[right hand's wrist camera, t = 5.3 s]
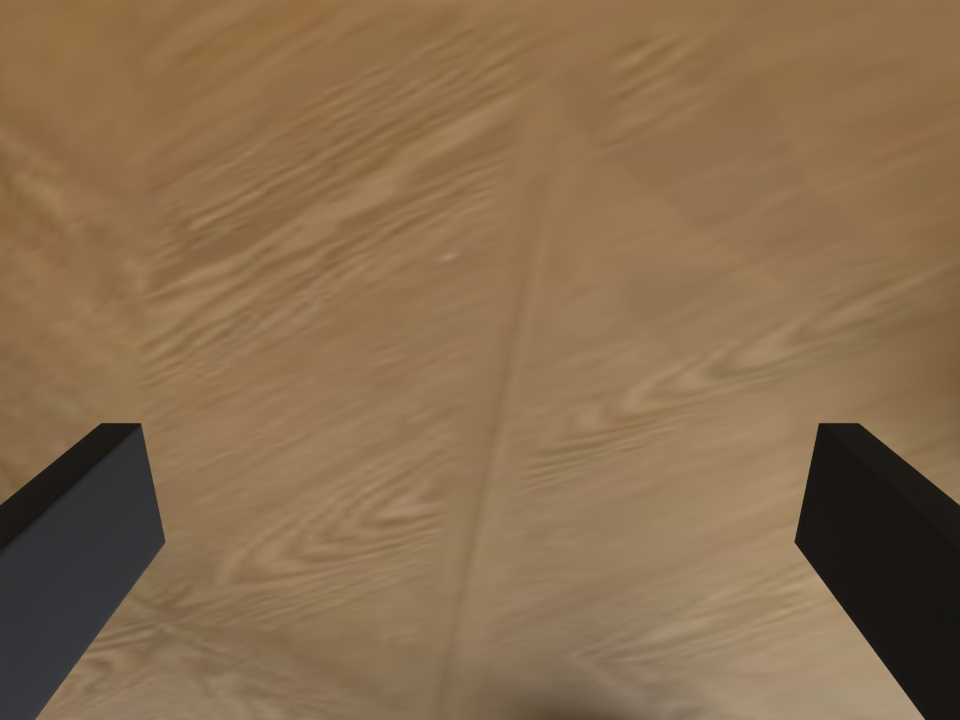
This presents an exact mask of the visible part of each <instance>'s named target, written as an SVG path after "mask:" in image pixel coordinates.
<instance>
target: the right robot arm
mask: <svg viewBox="0 0 960 720" xmlns="http://www.w3.org/2000/svg"><path fill="white" fill-rule="evenodd" d="M164 544H165V538H164V533H163V528H162V523H161V518H160V513H159V509H158V504H157V499H156V494H155V489H154V484H153V480H152V475H151V470H150V465H149V460H148V455H147V451H146V446H145V441H144V436H143V431H142V426H141V423H101V424H100V425H99V426H97V427H96V428H95V429H94V430H92V431H91V432H90V433H89V434H88V435H86V436H85V437H84V438H83V439H81V440H80V441H79V442H78V443H76V444H75V445H74V446H73V447H72V448H70V449H69V450H68V451H67V452H65V453H64V454H63V455H62V456H60V457H59V458H58V459H57V460H56V461H54V462H53V463H52V464H51V465H49V466H48V467H47V468H46V469H44V470H43V471H42V472H41V473H40V474H38V475H37V476H36V477H35V478H33V479H32V480H31V481H30V482H29V483H27V484H26V485H25V486H24V487H22V488H21V489H20V490H19V491H17V492H16V493H15V494H14V495H13V496H11V497H10V498H9V499H8V500H6V501H5V502H4V503H3V504H1V505H0V720H35V719H36V717H37V716H38V715H39V713H40V712H41V711H42V709H43V708H44V707H45V705H46V704H47V702H48V701H49V700H50V698H51V697H52V696H53V694H54V693H55V692H56V690H57V689H58V688H59V686H60V685H61V683H62V682H63V681H64V679H65V678H66V677H67V675H68V674H69V673H70V671H71V670H72V669H73V667H74V666H75V664H76V663H77V662H78V660H79V659H80V658H81V656H82V655H83V654H84V652H85V651H86V649H87V648H88V647H89V645H90V644H91V643H92V641H93V640H94V639H95V637H96V636H97V635H98V633H99V632H100V630H101V629H102V628H103V626H104V625H105V624H106V622H107V621H108V620H109V618H110V617H111V616H112V614H113V613H114V611H115V610H116V609H117V607H118V606H119V605H120V603H121V602H122V601H123V599H124V598H125V597H126V595H127V594H128V592H129V591H130V590H131V588H132V587H133V586H134V584H135V583H136V582H137V580H138V579H139V578H140V576H141V575H142V573H143V572H144V571H145V569H146V568H147V567H148V565H149V564H150V563H151V561H152V560H153V559H154V557H155V556H156V554H157V553H158V552H159V550H160V549H161V548H162V546H163V545H164ZM795 544H796V545H797V546H798V548H799V549H800V550H801V552H802V553H803V554H804V556H805V557H806V559H807V560H808V561H809V563H810V564H811V565H812V567H813V568H814V569H815V571H816V572H817V573H818V575H819V576H820V578H821V579H822V580H823V582H824V583H825V584H826V586H827V587H828V588H829V590H830V591H831V592H832V594H833V595H834V597H835V598H836V599H837V601H838V602H839V603H840V605H841V606H842V607H843V609H844V610H845V611H846V613H847V614H848V616H849V617H850V618H851V620H852V621H853V622H854V624H855V625H856V626H857V628H858V629H859V630H860V632H861V633H862V635H863V636H864V637H865V639H866V640H867V641H868V643H869V644H870V645H871V647H872V648H873V649H874V651H875V652H876V654H877V655H878V656H879V658H880V659H881V660H882V662H883V663H884V664H885V666H886V667H887V669H888V670H889V671H890V673H891V674H892V675H893V677H894V678H895V679H896V681H897V682H898V683H899V685H900V686H901V688H902V689H903V690H904V692H905V693H906V694H907V696H908V697H909V698H910V700H911V701H912V702H913V704H914V705H915V707H916V708H917V709H918V711H919V712H920V713H921V715H922V716H923V717H924V719H925V720H960V505H959V504H957V503H956V502H955V501H954V500H952V499H951V498H950V497H949V496H947V495H946V494H945V493H944V492H943V491H941V490H940V489H939V488H938V487H936V486H935V485H934V484H933V483H931V482H930V481H929V480H928V479H927V478H925V477H924V476H923V475H922V474H920V473H919V472H918V471H917V470H916V469H914V468H913V467H912V466H911V465H909V464H908V463H907V462H906V461H904V460H903V459H902V458H901V457H900V456H898V455H897V454H896V453H895V452H893V451H892V450H891V449H890V448H888V447H887V446H886V445H885V444H884V443H882V442H881V441H880V440H879V439H877V438H876V437H875V436H874V435H872V434H871V433H870V432H869V431H868V430H866V429H865V428H864V427H863V426H861V425H860V424H859V423H819V426H818V431H817V436H816V441H815V446H814V451H813V455H812V460H811V465H810V470H809V475H808V480H807V484H806V489H805V494H804V499H803V504H802V509H801V513H800V518H799V523H798V528H797V533H796V538H795Z"/></svg>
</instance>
